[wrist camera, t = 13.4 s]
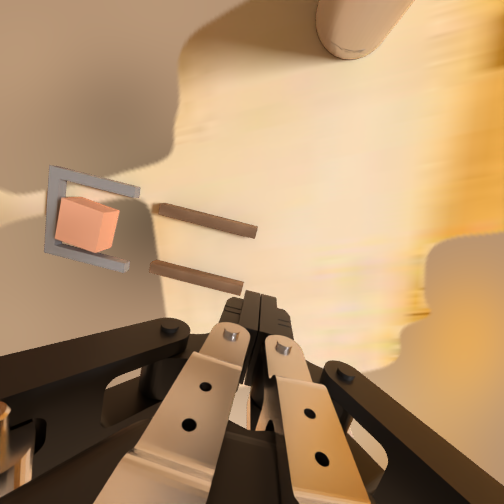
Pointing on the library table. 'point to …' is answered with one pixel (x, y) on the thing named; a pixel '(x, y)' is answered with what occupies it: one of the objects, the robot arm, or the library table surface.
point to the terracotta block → (86, 224)
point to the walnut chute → (196, 275)
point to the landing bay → (55, 194)
